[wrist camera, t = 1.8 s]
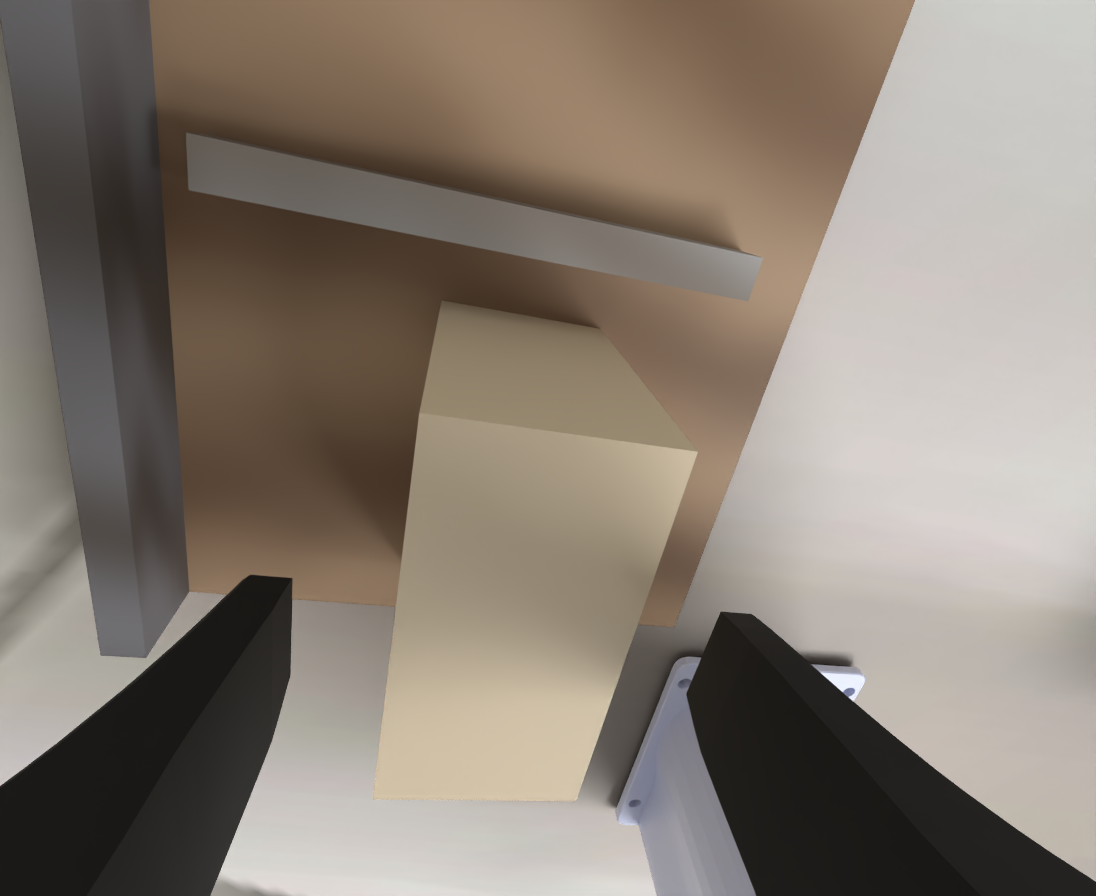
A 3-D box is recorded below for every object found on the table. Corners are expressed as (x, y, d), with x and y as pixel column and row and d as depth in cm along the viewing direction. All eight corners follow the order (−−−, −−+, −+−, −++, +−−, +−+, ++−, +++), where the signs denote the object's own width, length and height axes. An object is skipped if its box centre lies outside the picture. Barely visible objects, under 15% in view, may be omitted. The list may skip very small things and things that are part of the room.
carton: (537, 584, 18) (573, 807, 12) (406, 573, 17) (371, 805, 11) (600, 328, 15) (698, 452, 8) (441, 300, 14) (419, 412, 8)
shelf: (665, 607, 20) (700, 686, 17) (159, 566, 17) (91, 654, 14) (935, -127, 12) (1095, -226, 9) (64, -466, 9) (-151, -800, 6)
